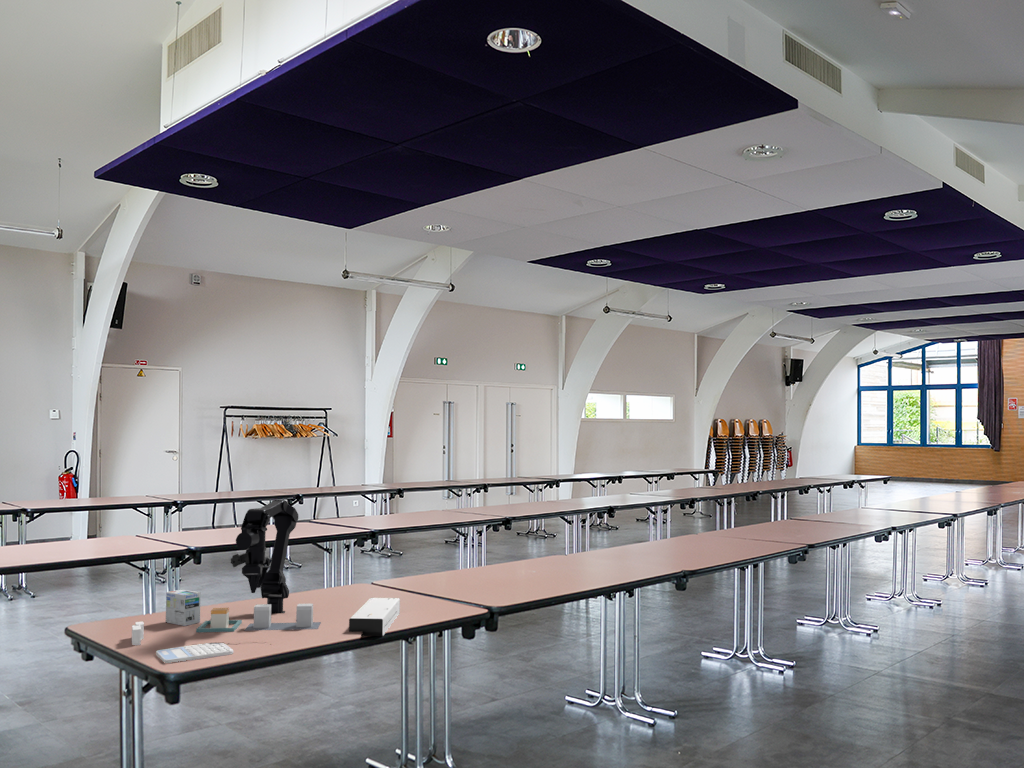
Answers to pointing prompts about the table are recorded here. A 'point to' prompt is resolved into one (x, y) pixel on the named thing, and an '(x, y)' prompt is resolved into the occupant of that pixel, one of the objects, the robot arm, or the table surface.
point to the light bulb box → (183, 607)
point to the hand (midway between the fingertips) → (255, 590)
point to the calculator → (194, 652)
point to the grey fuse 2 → (304, 615)
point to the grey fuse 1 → (262, 616)
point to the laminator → (375, 616)
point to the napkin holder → (137, 633)
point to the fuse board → (282, 626)
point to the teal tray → (203, 629)
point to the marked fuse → (219, 617)
